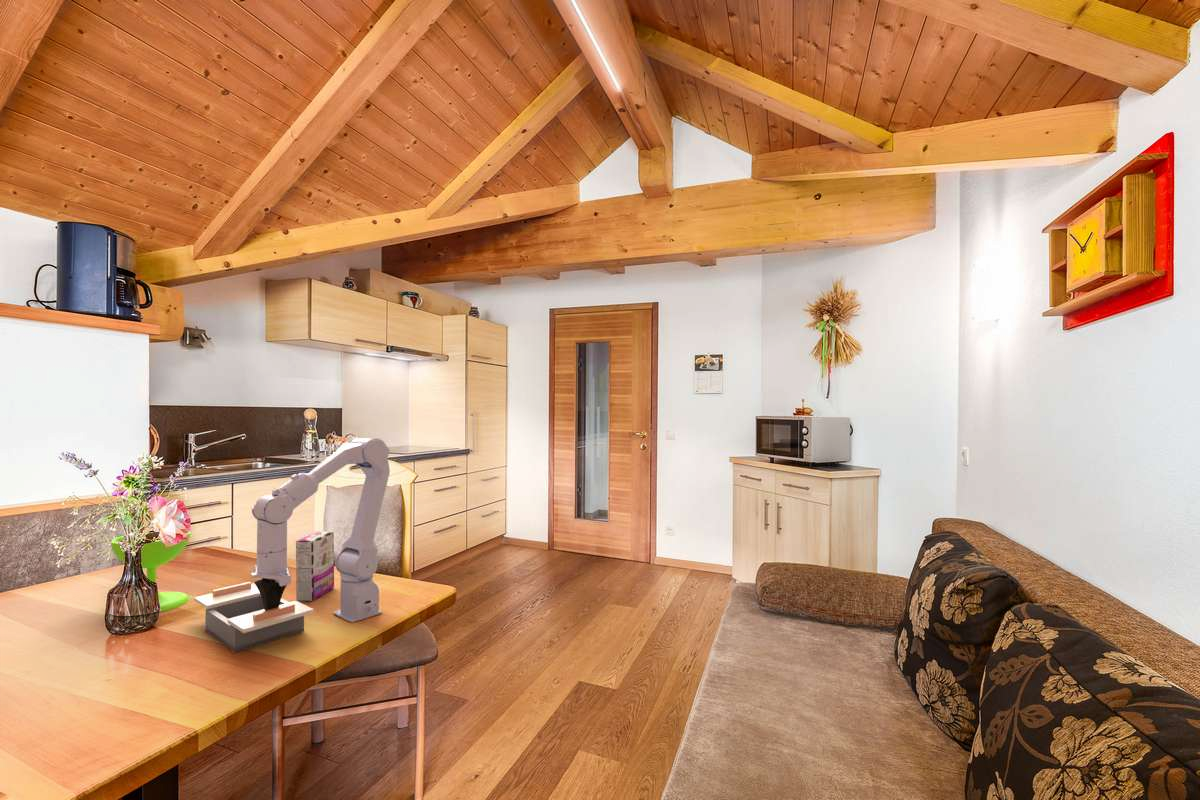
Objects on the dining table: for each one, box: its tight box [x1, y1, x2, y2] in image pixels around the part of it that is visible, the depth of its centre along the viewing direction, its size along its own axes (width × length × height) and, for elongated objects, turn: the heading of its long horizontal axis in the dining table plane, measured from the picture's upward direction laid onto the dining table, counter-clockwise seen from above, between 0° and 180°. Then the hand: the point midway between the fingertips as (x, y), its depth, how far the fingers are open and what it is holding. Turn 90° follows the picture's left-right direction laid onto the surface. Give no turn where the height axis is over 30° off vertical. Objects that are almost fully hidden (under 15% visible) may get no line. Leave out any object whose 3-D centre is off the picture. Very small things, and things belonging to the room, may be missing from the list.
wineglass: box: [110, 530, 191, 613], centre depth 141 cm, size 16×16×18 cm
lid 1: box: [193, 581, 261, 610], centre depth 132 cm, size 9×14×2 cm, turn 142°
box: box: [204, 596, 305, 654], centre depth 125 cm, size 18×14×5 cm
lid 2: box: [227, 600, 315, 633], centre depth 119 cm, size 9×14×2 cm, turn 142°
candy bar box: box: [295, 530, 335, 603], centre depth 149 cm, size 11×5×16 cm, turn 179°
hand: (271, 611), depth 119 cm, fingers closed
